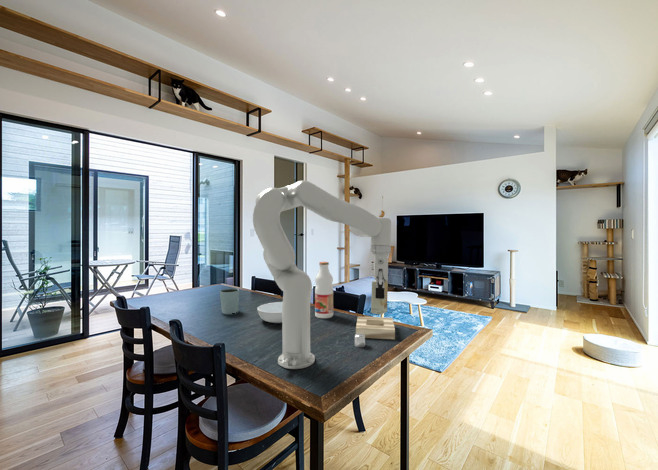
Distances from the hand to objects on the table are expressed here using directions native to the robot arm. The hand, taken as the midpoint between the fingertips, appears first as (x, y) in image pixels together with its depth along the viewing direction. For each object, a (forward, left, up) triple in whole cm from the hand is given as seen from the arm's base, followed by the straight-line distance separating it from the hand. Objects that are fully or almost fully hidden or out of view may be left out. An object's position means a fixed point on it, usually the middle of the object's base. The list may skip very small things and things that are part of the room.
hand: (379, 295), depth 115 cm
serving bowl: (+26, +49, -20) cm, 59 cm away
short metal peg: (0, +8, -20) cm, 21 cm away
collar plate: (+16, +2, -20) cm, 26 cm away
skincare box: (0, 0, -7) cm, 7 cm away
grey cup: (+36, +80, -20) cm, 90 cm away
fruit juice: (+36, +28, -20) cm, 50 cm away
